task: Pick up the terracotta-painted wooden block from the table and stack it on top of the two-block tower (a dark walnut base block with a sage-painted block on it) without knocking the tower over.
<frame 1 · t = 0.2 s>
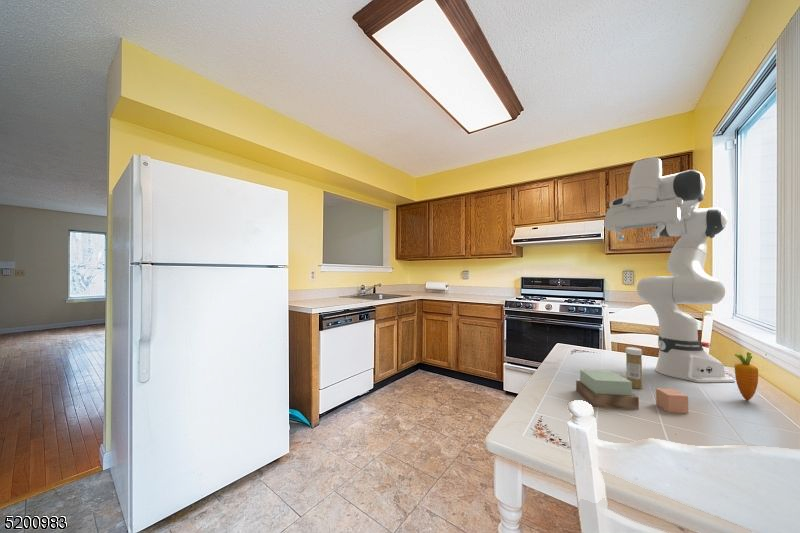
hand: (637, 238, 97), 52 cm above the table, tool tilted 20°, fingers open, 8 cm apart
carrot: (746, 401, 92), on the table
terracotta block: (671, 409, 86), on the table
tower base: (605, 401, 92), on the table
sprinkles bottle: (634, 387, 103), on the table
tower top: (604, 388, 93), point 3 cm above the table
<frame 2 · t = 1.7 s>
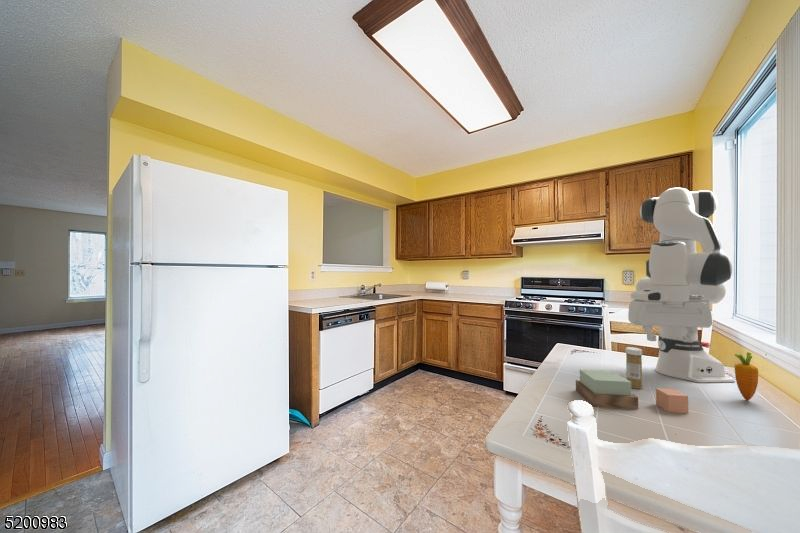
hand: (669, 341, 87), 20 cm above the table, tool pointing down, fingers open, 8 cm apart
tower base: (604, 400, 92), on the table, touching tower top
tower top: (604, 388, 93), point 3 cm above the table, touching tower base
everything else where it was.
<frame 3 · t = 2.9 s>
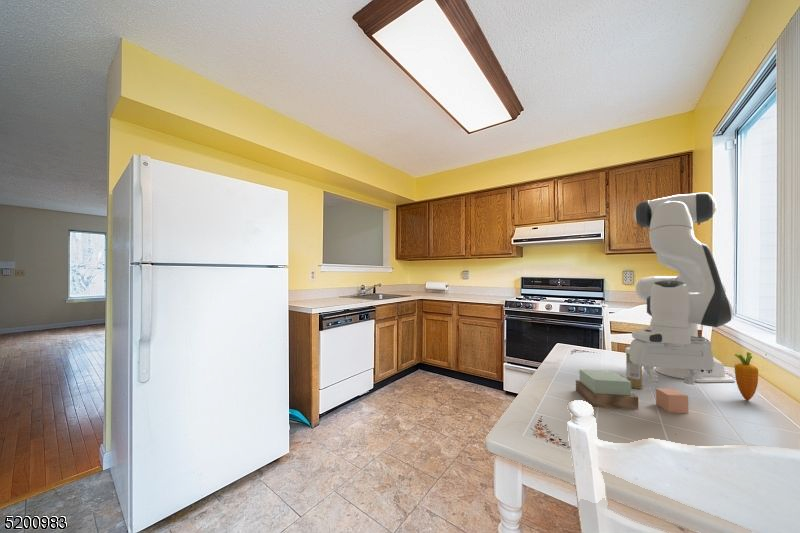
hand: (670, 382, 86), 8 cm above the table, tool pointing down, fingers open, 8 cm apart
tower base: (604, 400, 92), on the table
tower top: (604, 387, 93), point 3 cm above the table
everything else where it was.
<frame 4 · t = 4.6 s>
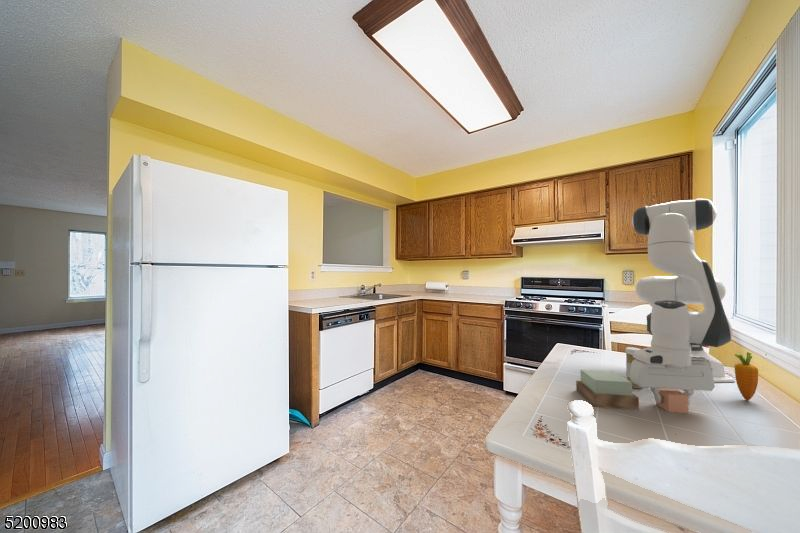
hand: (671, 403, 86), 2 cm above the table, tool pointing down, fingers closed on terracotta block, 5 cm apart
terracotta block: (671, 408, 86), on the table, touching gripper
tower base: (605, 401, 92), on the table, touching tower top
tower top: (604, 388, 93), point 3 cm above the table, touching tower base
everything else where it was.
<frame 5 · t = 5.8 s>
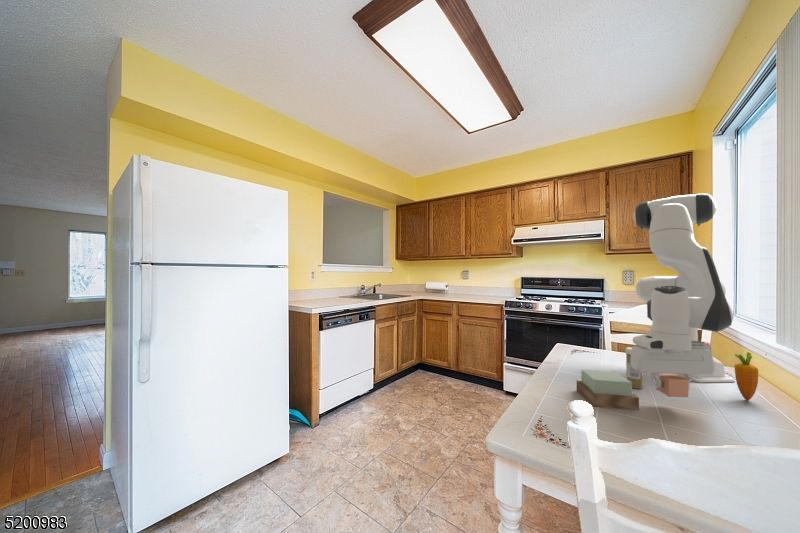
hand: (671, 387, 87), 6 cm above the table, tool pointing down, fingers closed on terracotta block, 5 cm apart
terracotta block: (671, 393, 87), point 4 cm above the table, touching gripper
everything else where it was.
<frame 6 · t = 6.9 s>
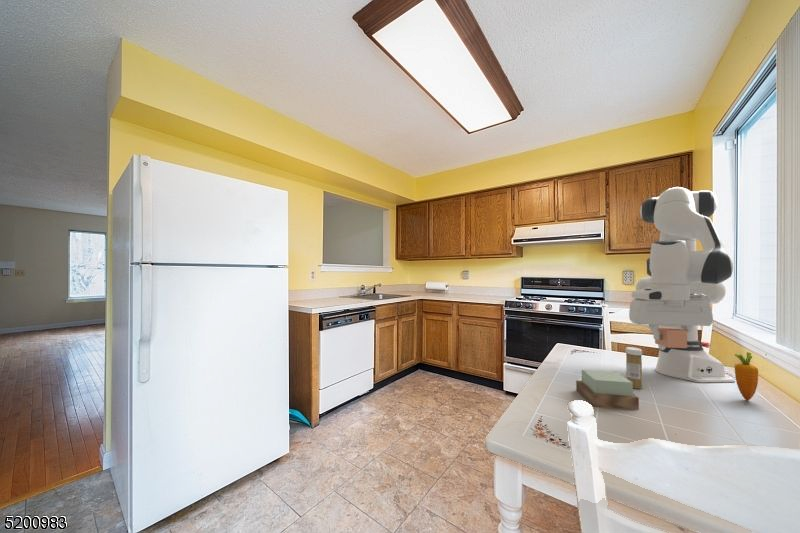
hand: (670, 340, 87), 20 cm above the table, tool pointing down, fingers closed on terracotta block, 5 cm apart
terracotta block: (670, 345, 87), point 18 cm above the table, touching gripper
everything else where it was.
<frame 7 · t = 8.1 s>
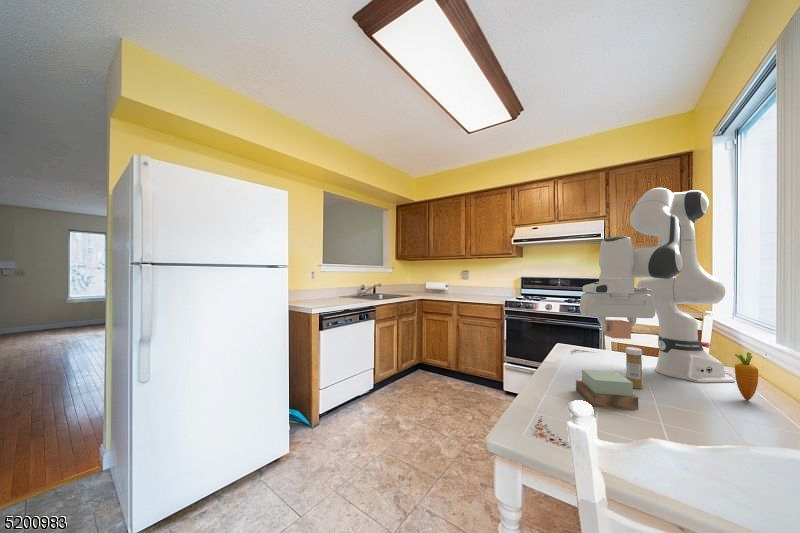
hand: (616, 331, 91), 22 cm above the table, tool pointing down, fingers closed on terracotta block, 5 cm apart
terracotta block: (616, 336, 91), point 20 cm above the table, touching gripper
everything else where it was.
when the fingers open (10 cm above the table, at t = 11.9 s): terracotta block drops 1 cm, resting on tower top.
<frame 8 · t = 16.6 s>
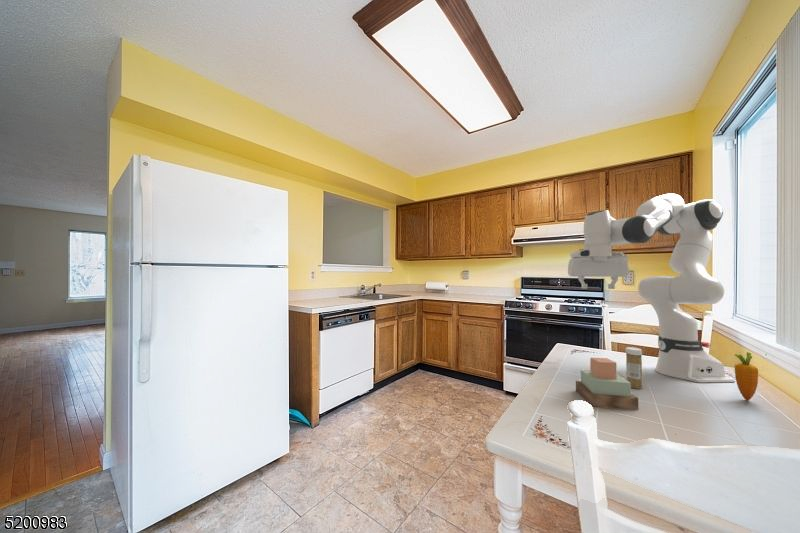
hand: (597, 288, 112), 34 cm above the table, tool pointing down, fingers open, 8 cm apart
terracotta block: (603, 375, 92), point 7 cm above the table, touching tower top
tower top: (604, 388, 92), point 3 cm above the table, touching terracotta block, tower base
everything else where it was.
at the end: terracotta block 0.3 cm off-centre on the tower top, point 4.0 cm above the tower top's base; terracotta block tilted 0°; tower top moved 0.6 cm from its start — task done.
